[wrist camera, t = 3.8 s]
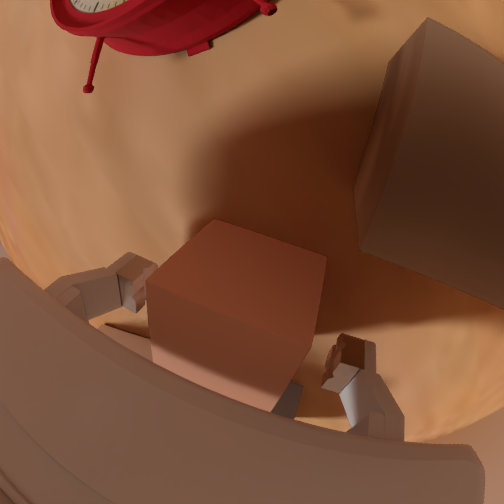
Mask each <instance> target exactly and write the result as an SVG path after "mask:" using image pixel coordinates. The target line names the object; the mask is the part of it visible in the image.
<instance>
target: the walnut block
mask: <svg viewBox="0 0 504 504" xmlns="http://www.w3.org/2000/svg"><path fill="white" fill-rule="evenodd" d="M353 195H354V203H355V211H356V220H357V229H358V240H359V251H361V252H364V253H367V254H369V255H372V256H375V257H377V258H380V259H383V260H385V261H388V262H391V263H393V264H396V265H398V266H401V267H404V268H406V269H409V270H411V271H414V272H416V273H419V274H421V275H424V276H426V277H429V278H431V279H434V280H436V281H439V282H441V283H443V284H446V285H448V286H451V287H453V288H455V289H458V290H460V291H463V292H465V293H467V294H470V295H472V296H474V297H477V298H479V299H481V300H483V301H486V302H488V303H490V304H492V305H495V306H497V307H499V308H501V309H504V63H503V62H502V61H500V60H499V59H498V58H496V57H495V56H493V55H492V54H491V53H489V52H488V51H486V50H485V49H483V48H482V47H480V46H479V45H477V44H476V43H474V42H473V41H471V40H469V39H468V38H466V37H464V36H463V35H461V34H459V33H457V32H456V31H454V30H452V29H450V28H448V27H446V26H444V25H443V24H441V23H439V22H437V21H435V20H432V19H430V18H428V17H427V19H426V20H425V21H424V22H423V23H422V24H421V25H420V26H419V28H418V29H417V30H416V31H415V32H414V33H413V35H412V36H411V37H410V38H409V39H408V40H407V41H406V43H405V44H404V45H403V46H402V47H401V48H400V50H399V51H398V52H397V53H396V54H395V55H394V57H393V58H392V59H391V60H390V61H389V62H388V67H387V71H386V75H385V80H384V84H383V88H382V92H381V96H380V100H379V104H378V107H377V111H376V115H375V118H374V122H373V126H372V129H371V133H370V136H369V139H368V143H367V146H366V149H365V152H364V156H363V159H362V162H361V165H360V168H359V171H358V174H357V177H356V180H355V183H354V186H353Z"/></svg>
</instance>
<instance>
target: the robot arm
mask: <svg viewBox="0 0 504 504" xmlns="http://www.w3.org/2000/svg"><path fill="white" fill-rule="evenodd" d="M157 269H158V265H157V264H156V263H154V262H152V261H149V260H147V259H145V258H143V257H141V256H138V255H136V254H134V253H132V252H127V253H126V254H125V255H123V256H122V257H121V258H119V259H118V260H117V261H115V262H114V263H113V264H112V265H110V266H109V267H108V268H104V267H103V268H99V269H94V270H90V271H85V272H80V273H76V274H71V275H67V276H62V277H60V278H59V279H57V280H56V281H55V282H54V283H52V284H51V285H50V286H48V287H47V288H46V289H45V290H43V289H42V288H41V287H39V286H38V285H37V284H36V283H35V282H33V281H32V280H31V279H30V278H29V277H28V276H27V275H25V274H24V273H23V272H22V271H21V270H20V269H19V268H18V267H16V266H15V265H14V264H13V263H12V262H11V261H10V260H9V259H8V258H5V257H2V258H0V504H483V503H484V492H485V470H484V467H483V465H482V463H481V461H480V459H479V457H478V456H477V454H476V452H475V451H474V449H473V448H472V447H471V446H470V445H467V444H430V443H416V442H405V441H404V415H403V413H402V411H401V410H400V408H399V406H398V405H397V403H396V401H395V399H394V398H393V396H392V394H391V393H390V391H389V389H388V388H387V386H386V385H385V383H384V381H383V380H382V378H381V376H380V375H379V374H377V373H376V344H375V343H374V342H371V341H367V340H363V339H360V338H357V337H353V336H350V335H347V334H344V333H341V334H340V335H339V337H338V338H337V342H336V345H333V346H332V348H331V349H330V351H329V353H328V356H327V358H326V362H325V368H326V372H325V373H324V375H323V379H322V385H321V388H323V389H326V390H330V391H333V392H336V393H340V394H339V395H340V398H341V401H342V403H343V406H344V409H345V411H346V414H347V417H348V420H349V422H350V425H351V429H349V430H348V431H347V432H342V431H337V430H332V429H328V428H324V427H320V426H316V425H312V424H308V423H304V422H301V421H297V420H294V419H290V418H287V417H284V416H280V415H277V414H274V413H271V412H268V411H265V410H262V409H259V408H256V407H253V406H251V405H248V404H245V403H242V402H240V401H237V400H234V399H232V398H229V397H227V396H224V395H222V394H219V393H217V392H215V391H212V390H210V389H208V388H205V387H203V386H201V385H198V384H196V383H194V382H192V381H190V380H188V379H185V378H183V377H181V376H179V375H177V374H175V373H173V372H171V371H169V370H167V369H165V368H163V367H161V366H159V365H157V364H156V363H154V362H152V361H150V360H148V359H146V358H144V357H143V356H141V355H139V354H137V353H136V352H134V351H132V350H130V349H129V348H127V347H125V346H123V345H122V344H120V343H119V342H117V341H115V340H114V339H112V338H110V337H109V336H107V335H106V334H104V333H103V332H101V331H99V330H98V329H96V328H95V327H93V326H92V325H90V324H89V321H88V320H89V319H92V318H95V317H97V316H100V315H102V314H105V313H107V312H110V311H112V310H115V309H117V308H120V307H122V306H123V307H125V308H127V309H129V310H131V311H133V312H135V313H137V312H138V311H139V310H140V309H141V308H142V307H143V306H144V305H145V300H146V286H145V280H146V279H147V278H148V277H149V276H150V275H151V274H153V273H154V272H155V271H156V270H157Z"/></svg>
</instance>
